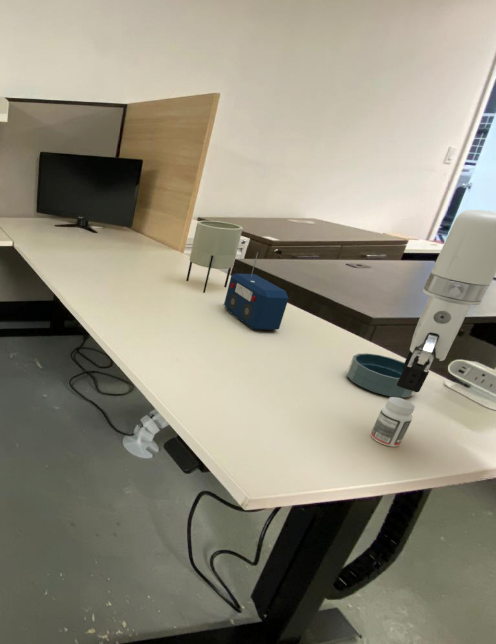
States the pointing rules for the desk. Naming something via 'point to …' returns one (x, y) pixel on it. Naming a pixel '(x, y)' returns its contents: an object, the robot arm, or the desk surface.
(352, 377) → the bowl
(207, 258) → the planter
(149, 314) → the desk surface
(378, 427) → the pill bottle
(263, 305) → the radio
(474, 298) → the robot arm
